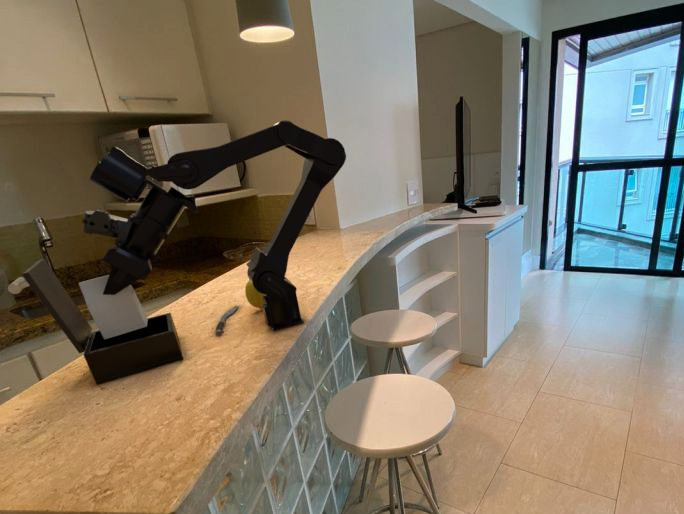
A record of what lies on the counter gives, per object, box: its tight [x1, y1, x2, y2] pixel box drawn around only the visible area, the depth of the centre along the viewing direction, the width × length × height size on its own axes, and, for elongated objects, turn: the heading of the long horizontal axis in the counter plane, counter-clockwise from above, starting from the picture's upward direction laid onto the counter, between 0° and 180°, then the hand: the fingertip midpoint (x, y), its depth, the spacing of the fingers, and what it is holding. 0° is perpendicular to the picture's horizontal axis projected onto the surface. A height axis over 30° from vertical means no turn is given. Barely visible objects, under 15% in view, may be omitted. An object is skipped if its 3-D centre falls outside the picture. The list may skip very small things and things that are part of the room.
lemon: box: [244, 279, 266, 311], centre depth 93 cm, size 6×6×8 cm
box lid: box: [7, 258, 93, 354], centre depth 67 cm, size 14×12×4 cm
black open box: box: [83, 312, 184, 386], centre depth 75 cm, size 14×12×6 cm
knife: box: [215, 305, 239, 335], centre depth 90 cm, size 17×1×3 cm
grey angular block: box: [78, 274, 148, 340], centre depth 71 cm, size 4×7×10 cm, turn 116°
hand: (106, 295), depth 70 cm, fingers closed on grey angular block
